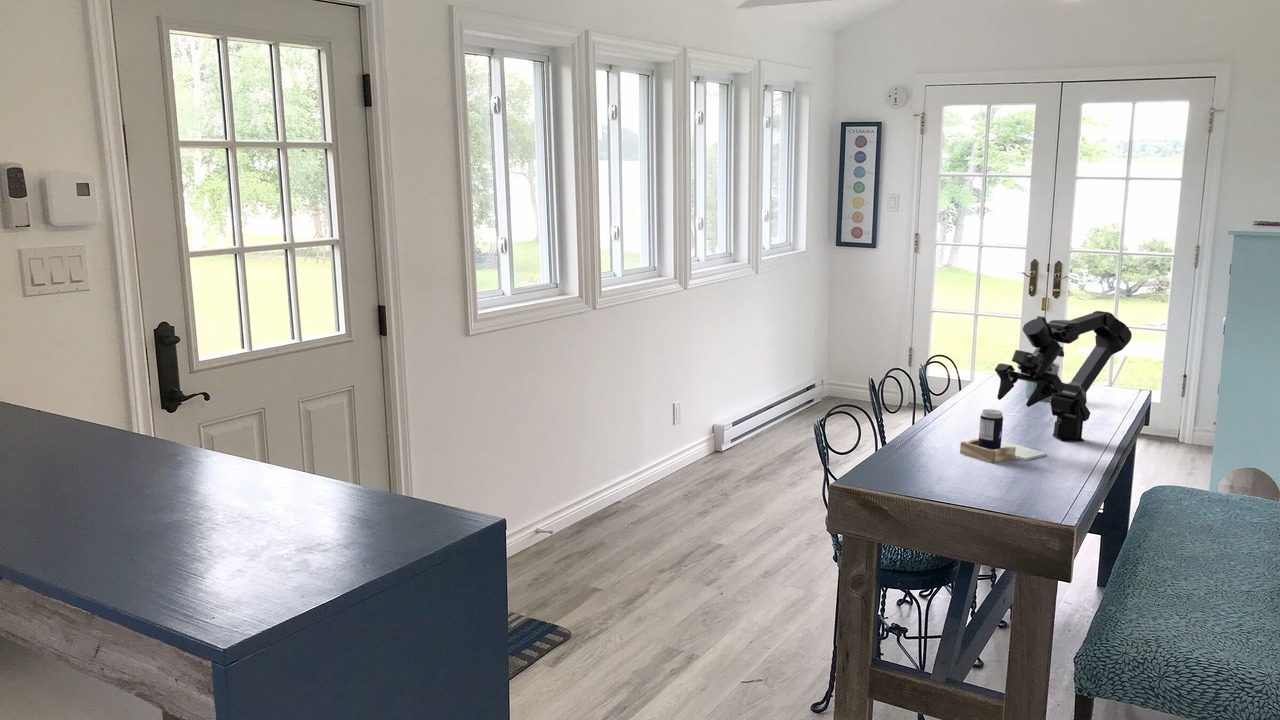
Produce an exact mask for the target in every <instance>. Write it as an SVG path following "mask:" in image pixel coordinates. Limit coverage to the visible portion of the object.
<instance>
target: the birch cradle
mask: <svg viewBox="0 0 1280 720" xmlns="http://www.w3.org/2000/svg"><path fill="white" fill-rule="evenodd" d="M978 441H979V438H976V439H971V440H965V441H961V442H960V445H959V446H960V448H959V454H961V455H966V456H969V457H971V458H975V459H978V460H981V461H984V460H985V462H987V461H988V463H990V462H993V463H997V462H996V461H998V462H1002V461H1001V460H1003V461H1006V459H1007V460H1012V459H1015V450H1016V447H1014V446H1009V447H1004V448H999V449H994V450H990V449H987V448H983V447H980V446H978ZM1011 458H1012V459H1011Z"/></svg>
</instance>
